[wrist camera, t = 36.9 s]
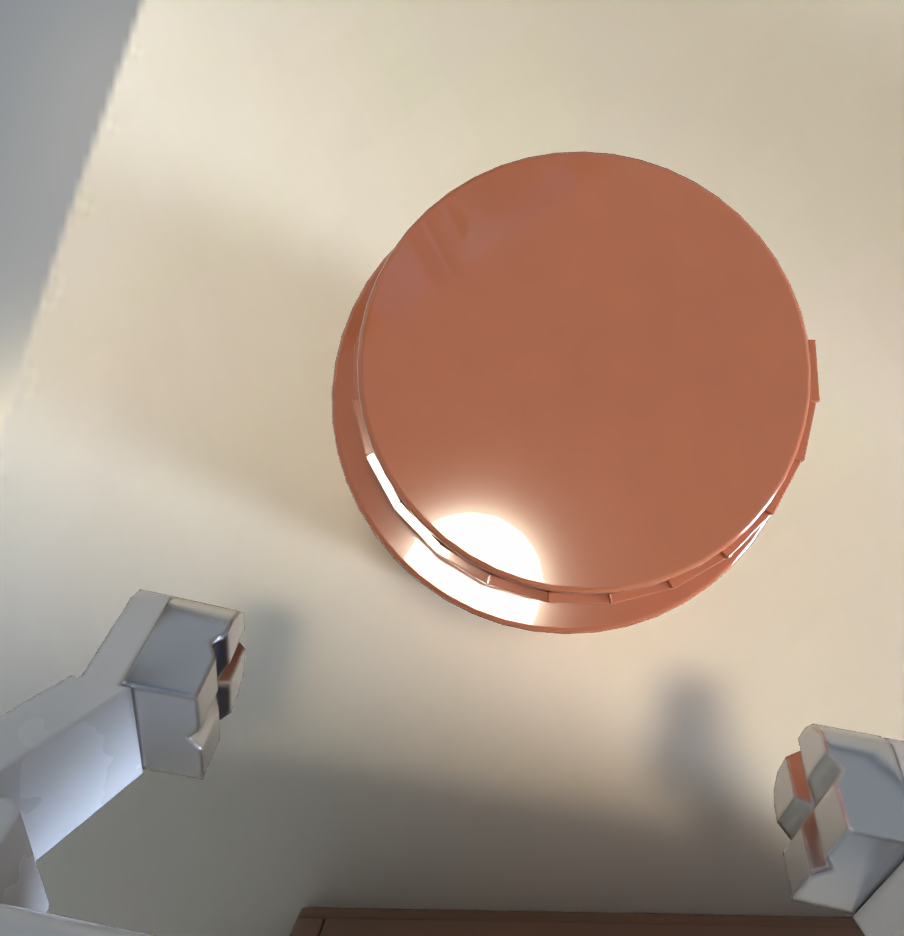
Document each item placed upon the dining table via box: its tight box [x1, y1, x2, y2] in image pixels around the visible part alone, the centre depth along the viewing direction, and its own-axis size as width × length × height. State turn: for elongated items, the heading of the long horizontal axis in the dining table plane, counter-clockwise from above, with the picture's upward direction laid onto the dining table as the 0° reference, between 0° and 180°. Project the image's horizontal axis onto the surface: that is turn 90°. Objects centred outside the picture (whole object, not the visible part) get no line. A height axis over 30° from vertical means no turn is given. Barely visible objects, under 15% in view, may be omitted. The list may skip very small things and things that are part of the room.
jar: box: [332, 152, 820, 634], centre depth 14 cm, size 6×6×11 cm
